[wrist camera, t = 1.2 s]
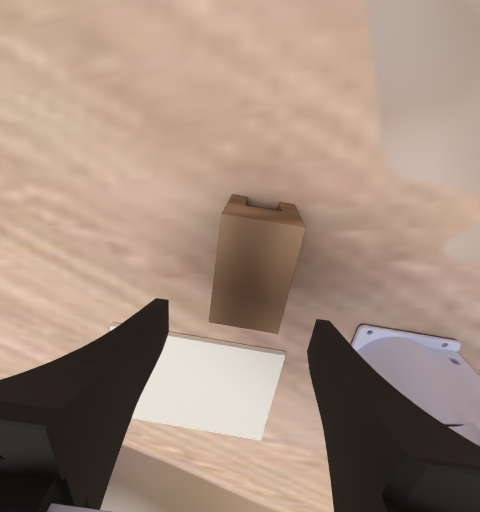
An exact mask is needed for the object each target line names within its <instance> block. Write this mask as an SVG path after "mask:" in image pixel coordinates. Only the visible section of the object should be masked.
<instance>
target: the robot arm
mask: <svg viewBox="0 0 480 512" xmlns="http://www.w3.org/2000/svg"><path fill="white" fill-rule="evenodd" d="M369 330H371V331H370V332H368V331H369ZM168 333H169V311H168V300H165V299H157V298H156V299H154V300H153V301H152V302H150V303H149V304H148V305H146V306H145V307H144V308H142V309H141V310H140V311H138V312H137V313H136V314H134V315H133V316H132V317H130V318H129V319H128V320H126V321H125V322H123V323H122V324H120V325H119V326H117V327H116V328H114V329H113V330H111V331H110V332H108V333H107V334H105V335H103V336H102V337H100V338H98V339H97V340H95V341H93V342H91V343H89V344H87V345H86V346H84V347H82V348H80V349H78V350H75V351H73V352H71V353H69V354H67V355H65V356H63V357H61V358H58V359H56V360H54V361H51V362H49V363H47V364H44V365H42V366H39V367H36V368H34V369H31V370H28V371H26V372H23V373H20V374H17V375H14V376H11V377H8V378H5V379H2V380H0V512H110V511H103V510H100V507H101V504H102V501H103V498H104V495H105V492H106V489H107V486H108V483H109V480H110V477H111V474H112V471H113V468H114V465H115V462H116V460H117V456H118V454H119V451H120V448H121V445H122V443H123V440H124V437H125V434H126V432H127V429H128V426H129V423H130V421H131V418H132V416H133V413H134V410H135V408H136V405H137V403H138V401H139V398H140V396H141V394H142V392H143V390H144V388H145V386H146V384H147V382H148V380H149V378H150V376H151V374H152V372H153V370H154V368H155V366H156V364H157V361H158V359H159V357H160V355H161V353H162V351H163V348H164V345H165V342H166V339H167V336H168ZM443 343H444V344H443ZM460 347H461V344H460V343H459V342H458V341H456V340H451V339H445V338H439V337H433V336H427V335H421V334H415V333H409V332H403V331H398V330H392V329H386V328H380V327H374V326H368V325H361V326H360V327H359V328H358V330H357V332H356V335H355V337H354V339H353V342H352V344H351V345H350V344H349V343H348V341H347V340H346V339H345V338H344V337H343V336H342V335H341V333H340V332H339V331H338V330H337V329H336V328H335V327H334V325H333V324H332V323H331V322H330V321H327V320H319V319H316V323H315V326H314V330H313V333H312V337H311V340H310V343H309V347H308V350H307V353H308V363H309V370H310V375H311V379H312V383H313V388H314V392H315V396H316V400H317V403H318V407H319V411H320V415H321V420H322V424H323V429H324V436H325V442H326V449H327V456H328V463H329V471H330V478H331V487H332V496H333V505H334V512H480V377H479V376H478V375H477V374H476V373H475V371H474V370H473V369H472V368H471V367H470V366H469V365H468V364H467V363H466V362H465V360H464V359H463V358H462V357H461V356H460V355H459V354H458V353H457V352H458V350H459V349H460Z"/></svg>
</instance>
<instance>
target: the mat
mask: <svg viewBox="0 0 480 512" xmlns="http://www.w3.org/2000/svg"><path fill="white" fill-rule="evenodd" d="M119 325H120V323H114V322H113V323H112V324H111V326H110V330H113V329H114V328H116V327H117V326H119ZM284 359H285V351H279V350H274V349H268V348H262V347H256V346H250V345H244V344H238V343H232V342H226V341H221V340H215V339H209V338H203V337H197V336H191V335H185V334H179V333H173V332H169V333H168V336H167V339H166V342H165V345H164V348H163V351H162V353H161V355H160V357H159V359H158V361H157V364H156V366H155V368H154V370H153V372H152V374H151V376H150V378H149V380H148V382H147V384H146V386H145V388H144V390H143V392H142V394H141V396H140V398H139V401H138V403H137V405H136V408H135V410H134V413H133V416H132V418H134V419H140V420H146V421H151V422H157V423H163V424H169V425H174V426H180V427H186V428H192V429H197V430H203V431H209V432H215V433H220V434H226V435H232V436H238V437H243V438H249V439H255V440H261V438H262V435H263V431H264V428H265V425H266V421H267V418H268V414H269V411H270V407H271V404H272V400H273V397H274V394H275V390H276V387H277V383H278V380H279V376H280V373H281V369H282V366H283V363H284Z"/></svg>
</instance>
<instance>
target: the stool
mask: <svg viewBox="0 0 480 512" xmlns="http://www.w3.org/2000/svg"><path fill="white" fill-rule="evenodd" d="M246 201H247V197H246V196H240V195H233V194H232V196H231V198H230V200H229V201H228V203H227V205H226V207H225V209H224V210H223V212H222V215H221V224H220V232H219V240H218V249H217V257H216V265H215V274H214V282H213V291H212V299H211V307H210V316H209V322H211V323H217V324H223V325H229V326H234V327H240V328H246V329H252V330H258V331H264V332H270V333H276V334H278V332H279V328H280V324H281V321H282V317H283V313H284V309H285V305H286V301H287V298H288V294H289V290H290V286H291V282H292V279H293V275H294V271H295V267H296V263H297V260H298V256H299V252H300V248H301V244H302V241H303V237H304V233H305V229H306V227H305V225H304V223H303V221H302V219H301V217H300V215H299V213H298V211H297V209H296V207H295V204H289V203H283V202H279V207H278V211H276V210H270V209H264V208H258V207H252V206H246Z"/></svg>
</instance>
